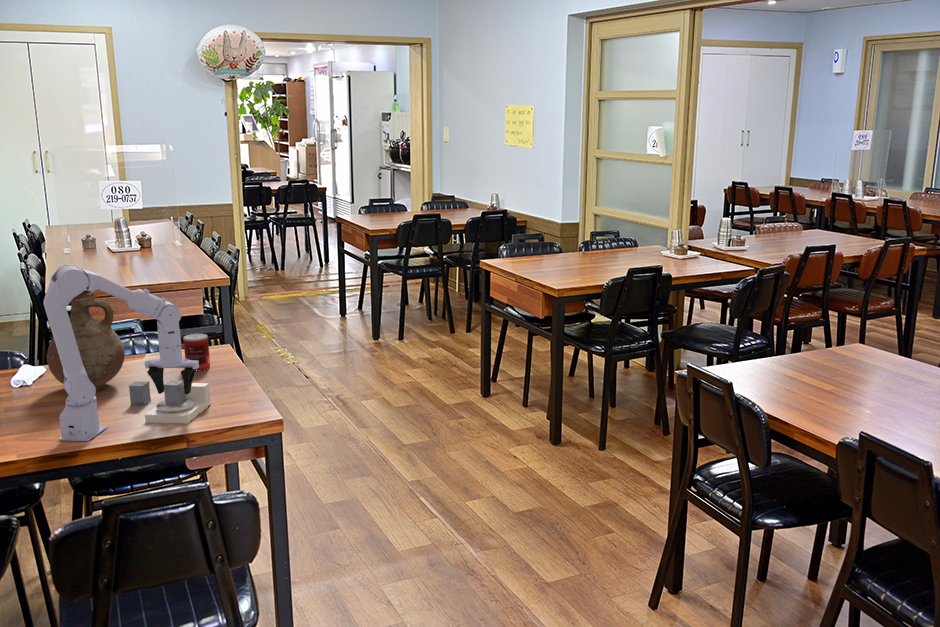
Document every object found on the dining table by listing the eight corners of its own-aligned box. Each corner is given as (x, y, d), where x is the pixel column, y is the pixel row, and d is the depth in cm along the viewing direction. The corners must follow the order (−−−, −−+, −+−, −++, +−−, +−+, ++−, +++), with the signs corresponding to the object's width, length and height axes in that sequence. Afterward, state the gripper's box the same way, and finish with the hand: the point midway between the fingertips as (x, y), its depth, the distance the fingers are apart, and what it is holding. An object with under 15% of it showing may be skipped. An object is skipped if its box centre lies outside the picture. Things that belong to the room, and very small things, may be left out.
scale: (188, 423, 214) (186, 400, 213) (145, 422, 215) (143, 399, 214) (210, 404, 229) (208, 383, 228) (170, 403, 230) (168, 382, 229)
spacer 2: (179, 405, 218) (177, 385, 217) (165, 405, 218) (163, 384, 217) (186, 401, 222) (184, 380, 221) (172, 400, 222) (170, 380, 221)
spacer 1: (144, 405, 229) (142, 386, 227) (130, 405, 229) (128, 385, 228) (150, 401, 233) (148, 381, 231) (137, 400, 233) (135, 381, 232)
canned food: (200, 363, 270) (197, 332, 267) (215, 367, 265) (212, 335, 263) (181, 369, 264) (178, 337, 261) (195, 373, 259) (192, 340, 257)
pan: (185, 412, 215) (185, 410, 215) (149, 411, 216) (149, 409, 216) (200, 400, 225) (200, 398, 224) (166, 399, 225) (166, 397, 225)
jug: (58, 380, 252) (45, 288, 246) (130, 374, 259) (121, 283, 252) (45, 402, 232) (31, 302, 225) (124, 394, 239) (113, 297, 232)
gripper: (201, 342, 219) (205, 389, 223) (151, 341, 221) (156, 387, 224) (190, 349, 213) (195, 397, 216) (139, 348, 214) (143, 395, 217)
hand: (174, 393), depth 219 cm, fingers open, 7 cm apart
